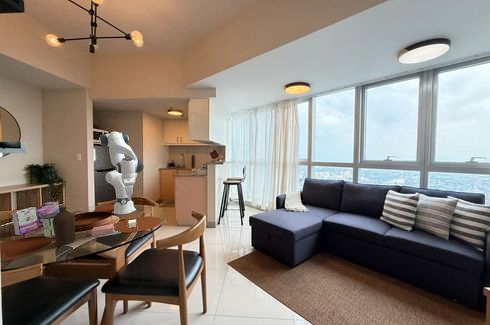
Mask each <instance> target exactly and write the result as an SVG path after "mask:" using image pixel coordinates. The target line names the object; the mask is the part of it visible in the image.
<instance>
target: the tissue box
mask: <svg viewBox="0 0 490 325" xmlns="http://www.w3.org/2000/svg"><path fill="white" fill-rule="evenodd" d="M58 213H59V212H55V213H49V214H46V215H44V216H42V219H43V226H42V227H43V233H44V234H43V235H44V237H45V236H54V237H55V234H54V228H53V223H52V221H53V218H54V217H55V216H56V215H57V214H58Z"/></svg>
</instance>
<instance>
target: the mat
mask: <svg viewBox="0 0 490 325" xmlns="http://www.w3.org/2000/svg"><path fill="white" fill-rule="evenodd" d="M118 234H122V233H121V232H118V231H115V230H114V233H111V234H105V235H100V236H95V237H92V232H91V233H90V236H89V240H92V239H96V238H101V237H107V236H112V235H118Z"/></svg>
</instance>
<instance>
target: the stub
mask: <svg viewBox="0 0 490 325" xmlns="http://www.w3.org/2000/svg"><path fill="white" fill-rule="evenodd" d="M127 222H128V223H127V226H128V225H129V228H131V227H136V224H137V219H131V220H130V219H129V220H127Z"/></svg>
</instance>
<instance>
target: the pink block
mask: <svg viewBox="0 0 490 325" xmlns="http://www.w3.org/2000/svg"><path fill="white" fill-rule="evenodd" d="M114 228H115V224H114V223H111V224H106V225H100V226H93V228H92V230H91V233H92V237H95V236H100V235H105V234H111V233H114Z"/></svg>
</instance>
